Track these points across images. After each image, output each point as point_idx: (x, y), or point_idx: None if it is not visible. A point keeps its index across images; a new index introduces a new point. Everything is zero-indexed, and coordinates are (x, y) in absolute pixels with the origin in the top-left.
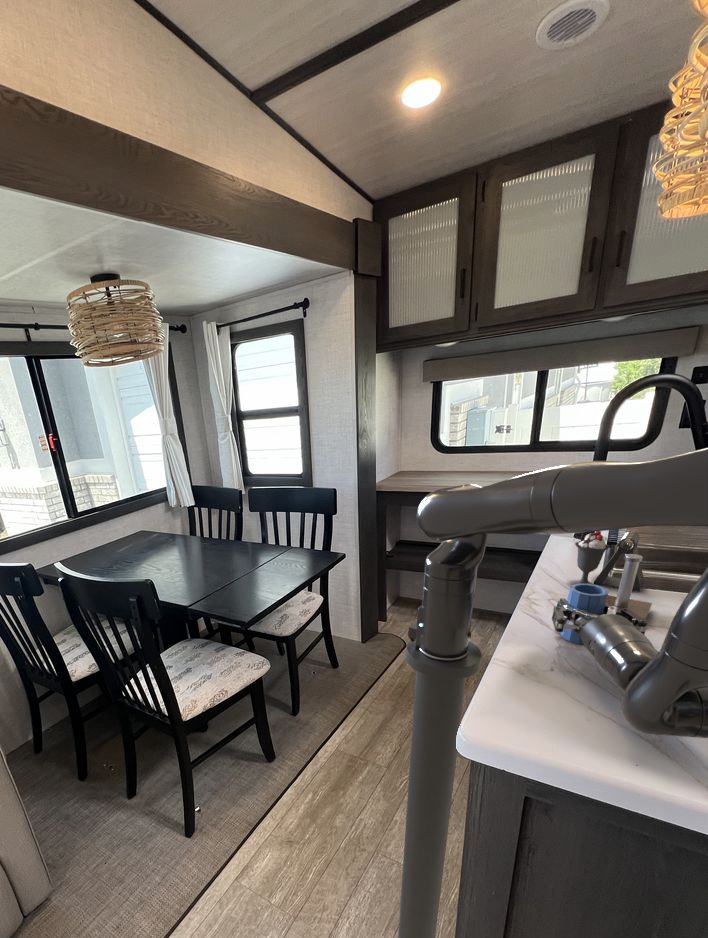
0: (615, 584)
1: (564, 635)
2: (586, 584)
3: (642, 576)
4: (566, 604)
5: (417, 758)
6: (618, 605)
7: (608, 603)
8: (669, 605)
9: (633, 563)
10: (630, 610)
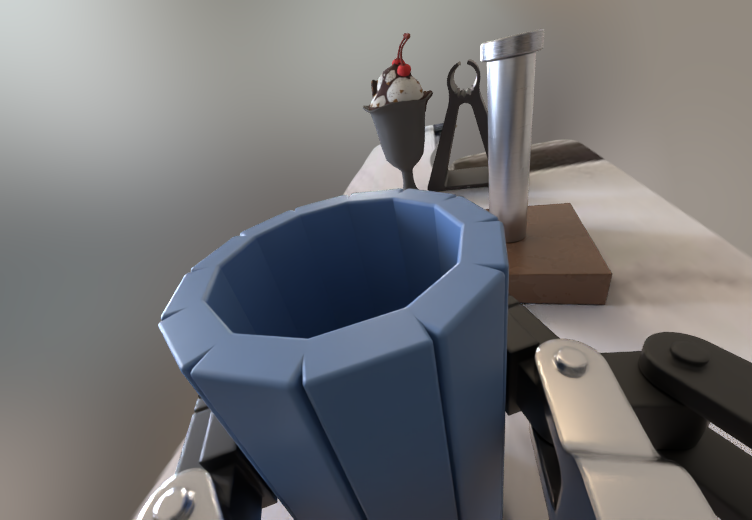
0: (465, 181)
1: None
2: (337, 201)
3: None
4: (206, 438)
5: None
6: None
7: None
8: (587, 196)
9: (519, 63)
10: (739, 358)
